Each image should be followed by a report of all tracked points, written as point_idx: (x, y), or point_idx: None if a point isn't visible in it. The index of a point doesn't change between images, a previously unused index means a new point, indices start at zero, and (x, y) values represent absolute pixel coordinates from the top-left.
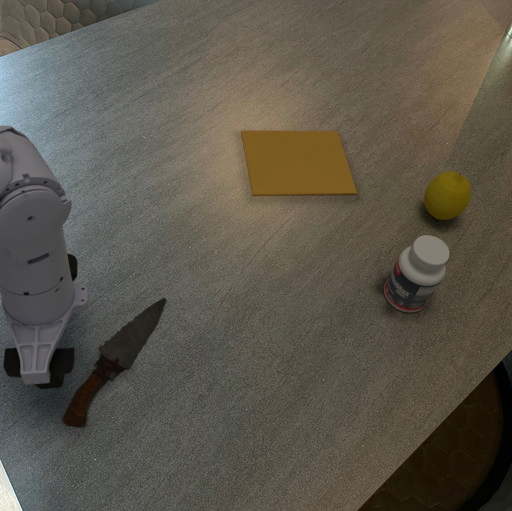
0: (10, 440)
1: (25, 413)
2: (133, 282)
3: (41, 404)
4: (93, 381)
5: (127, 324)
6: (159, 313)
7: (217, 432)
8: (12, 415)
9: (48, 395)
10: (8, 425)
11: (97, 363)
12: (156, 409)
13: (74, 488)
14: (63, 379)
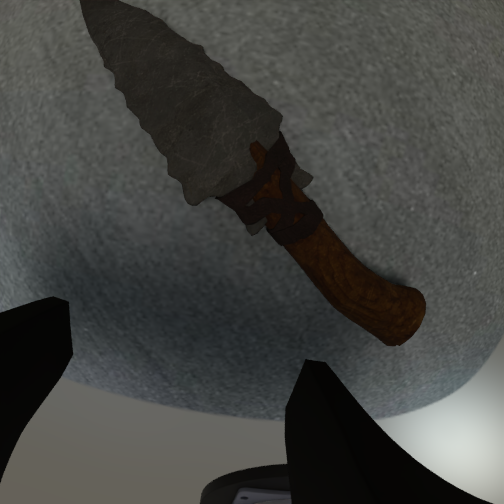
0: None
1: None
2: (16, 78)
3: None
4: (325, 252)
5: (123, 91)
6: (118, 4)
7: (488, 8)
8: None
9: (289, 350)
10: None
11: (255, 221)
12: (426, 90)
13: (493, 319)
14: (357, 402)
